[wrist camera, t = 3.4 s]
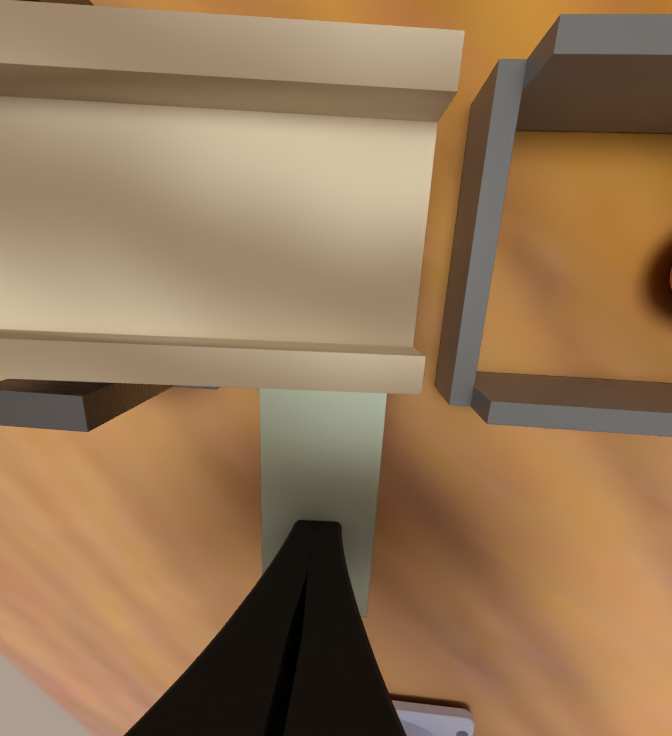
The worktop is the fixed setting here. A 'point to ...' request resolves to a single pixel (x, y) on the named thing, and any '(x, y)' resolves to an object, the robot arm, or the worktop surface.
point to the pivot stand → (70, 389)
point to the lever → (226, 225)
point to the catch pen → (486, 198)
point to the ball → (671, 278)
